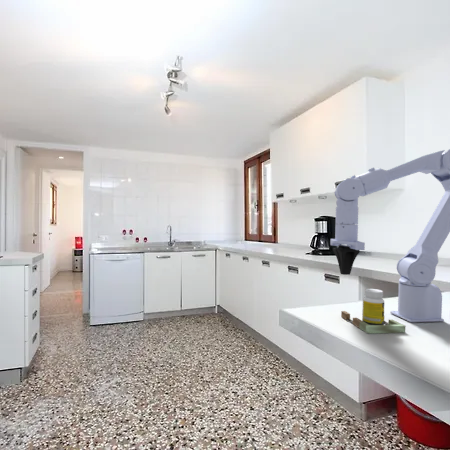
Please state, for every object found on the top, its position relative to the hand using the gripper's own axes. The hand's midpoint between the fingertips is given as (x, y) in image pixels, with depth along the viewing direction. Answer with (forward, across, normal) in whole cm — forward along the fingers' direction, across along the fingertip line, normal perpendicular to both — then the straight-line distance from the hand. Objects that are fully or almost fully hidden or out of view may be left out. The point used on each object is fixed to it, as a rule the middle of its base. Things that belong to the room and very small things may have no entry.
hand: (345, 274), depth 86 cm
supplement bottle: (+11, +11, +2) cm, 15 cm away
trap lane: (+10, +10, +2) cm, 14 cm away
